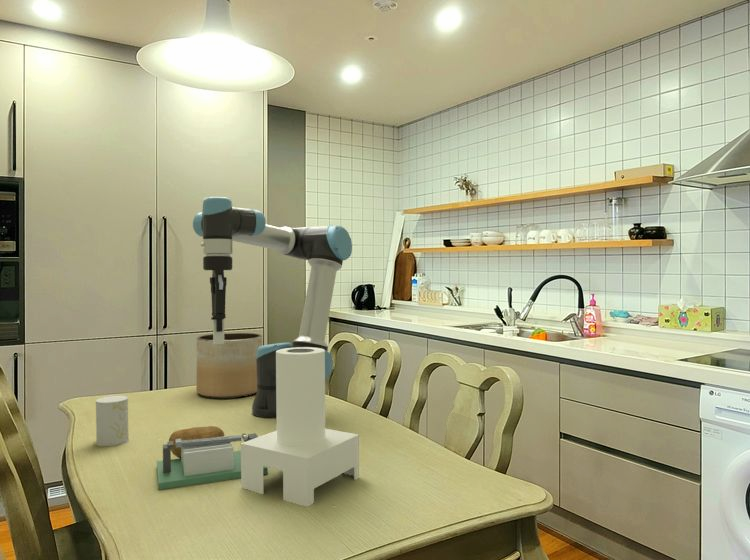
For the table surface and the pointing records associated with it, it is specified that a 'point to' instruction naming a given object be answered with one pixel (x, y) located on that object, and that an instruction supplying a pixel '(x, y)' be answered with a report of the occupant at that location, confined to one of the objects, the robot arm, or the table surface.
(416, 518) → the table surface
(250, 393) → the planter
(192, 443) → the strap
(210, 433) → the potato
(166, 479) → the heatsink board
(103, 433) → the white patterned canister
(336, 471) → the paper towel holder
